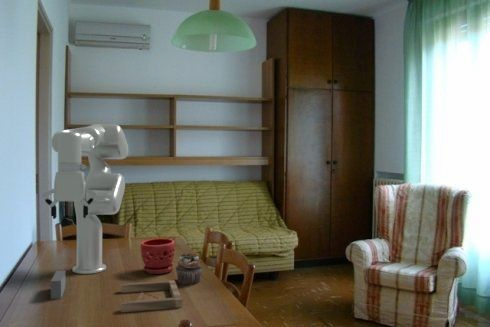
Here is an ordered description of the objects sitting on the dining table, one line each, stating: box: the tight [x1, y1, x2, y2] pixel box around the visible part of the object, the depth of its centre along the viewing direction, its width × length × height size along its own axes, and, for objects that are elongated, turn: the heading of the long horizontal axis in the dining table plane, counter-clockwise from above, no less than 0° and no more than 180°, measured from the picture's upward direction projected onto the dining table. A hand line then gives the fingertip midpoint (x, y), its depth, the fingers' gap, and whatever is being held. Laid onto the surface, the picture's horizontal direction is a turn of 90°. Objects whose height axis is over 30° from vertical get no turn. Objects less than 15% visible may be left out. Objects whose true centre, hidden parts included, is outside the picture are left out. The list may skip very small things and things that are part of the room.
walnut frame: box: [120, 279, 183, 313], centre depth 142 cm, size 20×18×2 cm
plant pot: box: [140, 237, 176, 275], centre depth 174 cm, size 13×13×12 cm
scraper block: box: [50, 270, 67, 300], centre depth 147 cm, size 12×3×6 cm, turn 16°
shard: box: [135, 291, 160, 301], centre depth 141 cm, size 11×8×2 cm
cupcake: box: [175, 253, 203, 285], centre depth 161 cm, size 10×10×10 cm
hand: (69, 217), depth 151 cm, fingers open, 9 cm apart
